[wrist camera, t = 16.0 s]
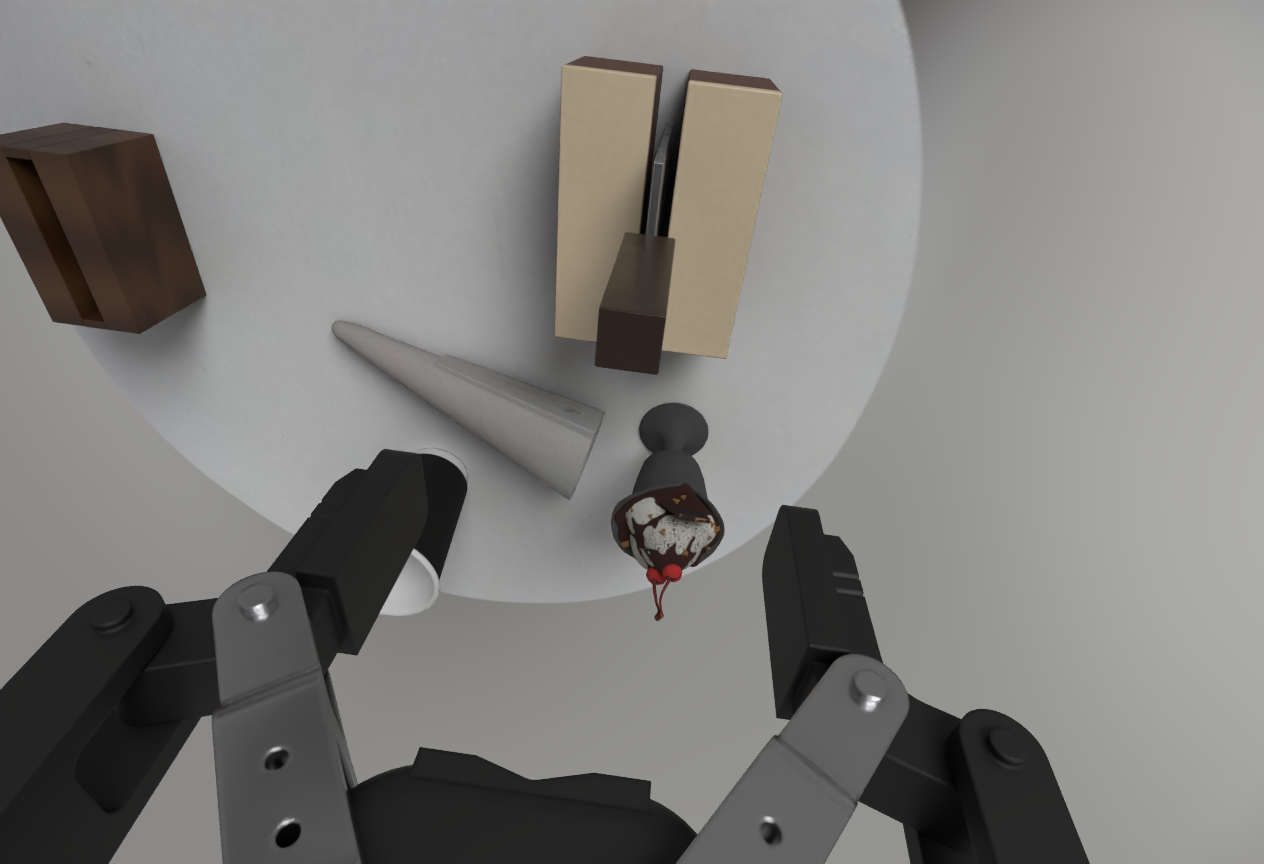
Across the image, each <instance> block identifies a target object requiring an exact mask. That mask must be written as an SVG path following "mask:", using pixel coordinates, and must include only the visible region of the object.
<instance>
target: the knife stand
mask: <svg viewBox="0 0 1264 864" xmlns="http://www.w3.org/2000/svg"><path fill="white" fill-rule="evenodd" d="M0 217H1V219H2V221H3V223H4V225H5V227H6V229H7V231H8V233H9V235H10V237H11V239H12V241H13V243H14V245H15V247H16V249H17V251H18V253H19V255H20V257H21V259H22V261H23V263H24V265H25V267H26V269H27V271H28V273H29V275H30V277H31V279H32V281H33V283H34V285H35V287H36V289H37V291H38V293H39V295H40V297H41V299H42V301H43V303H44V305H45V307H46V309H47V311H48V313H49V315H50V317H51V319H52V321H53V322H57V323H65V324H72V325H79V326H86V327H93V328H100V329H108V330H115V331H122V332H130V333H137V334H141V333H142V332H144V331H146V330H147V329H149V328H151V327H152V326H154V325H156V324H158V323H159V322H161V321H163V320H164V319H166V318H168V317H169V316H171V315H173V314H175V313H176V312H178V311H180V310H181V309H183V308H185V307H187V306H188V305H190V304H192V303H193V302H195V301H197V300H198V299H200V298H202V297H204V296H205V295H206V292H205V289H204V286H203V283H202V280H201V277H200V274H199V271H198V268H197V265H196V262H195V259H194V256H193V253H192V250H191V247H190V244H189V241H188V238H187V235H186V232H185V229H184V226H183V223H182V220H181V217H180V214H179V211H178V208H177V205H176V202H175V199H174V196H173V193H172V190H171V187H170V184H169V181H168V178H167V175H166V172H165V169H164V166H163V163H162V160H161V157H160V154H159V151H158V148H157V145H156V142H155V139H154V136H153V134H148V133H140V132H132V131H125V130H117V129H109V128H101V127H92V126H85V125H77V124H69V123H60V124H55V125H49V126H44V127H39V128H33V129H28V130H23V131H17V132H12V133H6V134H1V135H0Z"/></svg>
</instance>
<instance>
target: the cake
mask: <svg viewBox="0 0 1264 864" xmlns="http://www.w3.org/2000/svg"><path fill="white" fill-rule="evenodd" d="M662 72H663V66H661V65H653V64H644V63H636V62H628V61H620V60H612V59H604V58H596V57H588V56H584V57H582V58H579V59H577V60H575V61H573V62H570V63H568V64H566V65H564V66H562V76H561V115H560V153H559V191H558V229H557V268H556V306H555V336H556V337H563V338H571V339H578V340H586V341H593V342H596V341H597V327H598V312H599V307H600V304H601V301H602V298H603V295H604V292H605V289H606V286H607V283H608V281H609V278H610V275H611V272H612V269H613V266H614V263H615V260H616V257H617V254H618V252H619V249H620V246H621V243H622V240H623V237H624V234H625V232H629V233H637V234H644V235H645V227H646V217H647V208H648V199H649V190H650V181H651V172H652V163H653V154H654V145H655V136H656V127H657V118H658V109H659V100H660V90H661V81H662ZM782 96H783V95H782V93H781V91H780V90H779V89H778V88H777V87H776V86H775V84H774V83H773V82H772V81H771V80H770V79H766V78H758V77H749V76H741V75H733V74H725V73H717V72H709V71H701V70H693V69H692V70H690V75H689V80H688V87H687V94H686V102H685V109H684V117H683V124H682V132H681V140H680V147H679V155H678V162H677V170H676V177H675V185H674V192H673V200H672V207H671V215H670V222H669V230H668V238H674V239H675V240H676V241H675V250H674V258H673V266H672V275H671V283H670V291H669V300H668V308H667V316H666V324H665V331H664V338H663V345H662V350H663V351H670V352H678V353H685V354H693V355H700V356H708V357H715V358H723V359H726V357H727V352H728V348H729V343H730V338H731V334H732V329H733V324H734V320H735V315H736V310H737V306H738V301H739V296H740V292H741V287H742V282H743V278H744V273H745V268H746V264H747V259H748V254H749V250H750V245H751V240H752V236H753V231H754V226H755V222H756V217H757V212H758V208H759V203H760V198H761V194H762V189H763V184H764V180H765V175H766V170H767V166H768V161H769V156H770V152H771V147H772V142H773V138H774V133H775V128H776V124H777V119H778V114H779V110H780V105H781V100H782Z"/></svg>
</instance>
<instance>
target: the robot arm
mask: <svg viewBox="0 0 1264 864" xmlns="http://www.w3.org/2000/svg"><path fill="white" fill-rule="evenodd" d="M427 513H428V501H427V494H426V487H425V479H424V472H423V464H422V459H421V456H420V455H419V454H418V453H411V452H403V451H396V450H389V449H384V450H382V451H381V452H380V453H379V454H378V455H377V457H376V458H375V460H374V461H373V462H372V464H371V465H370V467H369V468H368V469H367V470H364V469H357V468H356V469H354V470H353V471H351V472H350V473H348V474H347V475H345V476H344V477H342V478H341V479H339V480H338V481H336V482H335V483H334V484H333V486H332V487H331V488H330V490H329V491H328V492H327V494H326V495H325V496H324V498H323V499H322V502H321V503H319V504H318V505H317V507H316V508H315V509H314V511H313V512H312V513H311V517H310V518H307V520H306V521H305V522H304V524H303V525H302V526H301V528H300V529H299V530H298V531H297V533H296V534H295V535H294V537H293V538H292V539H291V541H290V542H289V543H288V545H287V546H286V547H285V549H284V550H283V551H282V552H281V554H280V555H279V556H278V558H277V559H276V560H275V562H274V563H273V564H272V565H271V567H270V568H269V569H268V570H267V572H263V573H258V574H254V575H251V576H249V577H246V578H244V579H241V580H239V581H238V582H236V583H234V584H233V585H231V586H230V587H229V588H228V589H226V590H225V591H224V592H223V593H222V594H221V595H220V597H219V598H214V599H207V600H199V601H191V602H183V603H175V604H167V605H166V604H165V602H164V600H163V599H162V597H161V595H160V594H159V593H158V592H157V591H156V590H154V589H152V588H149V587H144V586H129V587H123V588H118V589H114V590H111V591H108V592H106V593H103V594H101V595H99V596H97V597H95V598H93V599H92V600H90V601H88V602H86V603H85V604H84V605H82V606H81V607H80V608H78V609H77V610H76V611H75V612H74V613H73V614H72V615H71V616H70V617H69V618H68V619H67V620H66V621H65V622H64V623H63V624H62V626H60V627H59V629H58V630H57V631H56V632H55V633H54V634H53V635H52V636H51V637H50V638H49V639H48V640H47V641H46V642H45V643H44V644H43V645H42V646H41V648H40V649H39V650H38V651H37V652H36V653H35V654H34V655H33V656H32V657H31V658H30V659H29V660H28V661H27V662H26V663H25V664H24V665H23V667H22V668H21V669H20V670H19V671H18V672H17V673H16V674H15V675H14V676H13V677H12V678H11V679H10V680H9V681H8V682H7V683H6V684H5V685H4V687H3V688H2V689H1V690H0V864H109V862H110V860H111V859H112V857H113V856H114V854H115V852H116V851H117V849H118V848H119V846H120V845H121V843H122V841H123V840H124V838H125V837H126V835H127V833H128V832H129V830H130V829H131V827H132V826H133V824H134V822H135V821H136V819H137V818H138V816H139V815H140V813H141V811H142V810H143V808H144V807H145V805H146V804H147V802H148V800H149V799H150V797H151V795H152V794H153V792H154V791H155V789H156V788H157V786H158V785H159V783H160V781H161V780H162V778H163V777H164V775H165V774H166V772H167V770H168V769H169V767H170V766H171V764H172V762H173V761H174V759H175V758H176V756H177V755H178V753H179V751H180V750H181V748H182V747H183V745H184V743H185V742H186V740H187V739H188V737H189V736H190V734H191V732H192V731H193V729H194V728H195V726H196V725H197V723H198V721H199V720H200V718H201V717H203V716H209V715H212V733H213V746H214V758H215V771H216V783H217V795H218V808H219V821H220V835H221V847H222V860H223V864H824V863H825V862H826V860H827V858H828V856H829V854H830V853H831V851H832V849H833V847H834V846H835V844H836V842H837V841H838V839H839V837H840V835H841V833H842V832H843V830H844V828H845V827H846V825H847V823H848V821H849V819H850V818H851V816H852V814H853V812H854V810H855V808H856V806H857V804H858V803H857V802H858V801H859V802H861V803H863V804H865V805H867V806H869V807H871V808H873V809H875V810H877V811H879V812H881V813H883V814H885V815H887V816H889V817H891V818H893V819H895V820H897V821H899V822H901V823H903V826H904V832H905V838H906V842H907V848H908V853H909V858H910V864H1090V863H1089V861H1088V858H1087V856H1086V853H1085V851H1084V849H1083V846H1082V843H1081V841H1080V838H1079V836H1078V833H1077V831H1076V828H1075V826H1074V823H1073V821H1072V818H1071V816H1070V813H1069V811H1068V808H1067V806H1066V803H1065V801H1064V798H1063V796H1062V793H1061V791H1060V788H1059V786H1058V783H1057V781H1056V778H1055V776H1054V773H1053V770H1052V768H1051V766H1050V763H1049V760H1048V758H1047V756H1046V754H1045V752H1044V750H1043V748H1042V747H1041V745H1040V744H1039V742H1038V741H1037V740H1036V739H1035V737H1034V736H1033V735H1032V734H1031V733H1030V732H1029V731H1028V730H1027V729H1026V728H1024V727H1023V726H1022V725H1021V724H1020V723H1018V722H1017V721H1015V720H1014V719H1012V718H1010V717H1008V716H1007V715H1005V714H1002V713H1000V712H997V711H993V710H988V709H976V710H972V711H970V712H968V713H967V714H966V715H965V716H964V717H963V718H962V719H959V718H957V717H955V716H953V715H950V714H948V713H946V712H944V711H941V710H939V709H937V708H934V707H932V706H930V705H927V704H925V703H923V702H921V701H919V700H917V699H916V698H914V697H913V696H911V695H910V694H908V693H907V691H906V689H905V687H904V685H903V683H902V682H901V680H900V679H899V678H898V676H897V675H896V674H895V673H894V672H893V671H892V670H891V669H890V668H888V667H887V666H886V665H884V664H883V661H882V658H881V655H880V651H879V648H878V644H877V640H876V637H875V633H874V629H873V626H872V622H871V618H870V615H869V611H868V607H867V604H866V600H865V597H863V589H862V585H861V582H860V580H859V575H858V571H857V567H856V563H855V560H854V556H853V554H852V553H851V552H850V551H849V549H848V548H847V546H846V545H845V544H844V543H843V541H842V540H841V539H840V537H839V536H832V535H825V534H824V533H823V529H822V525H821V521H820V516H819V513H818V511H817V510H816V509H809V508H802V507H795V506H788V505H782V506H781V507H780V509H779V512H778V514H777V517H776V521H775V524H774V527H773V530H772V533H771V536H770V539H769V542H768V545H767V548H766V551H765V555H764V560H763V568H762V582H763V592H764V601H765V610H766V611H765V612H766V621H767V630H768V641H769V650H770V660H771V670H772V679H773V689H774V699H775V708H776V717H777V718H780V719H788V720H790V721H789V722H788V724H787V725H786V726H785V728H784V729H783V730H782V731H781V733H780V734H779V735H778V736H777V735H775V736H773V737H772V738H771V739H770V740H769V742H768V743H767V744H766V746H765V747H764V748H763V749H762V751H761V752H760V753H759V755H758V756H757V757H756V759H755V760H754V761H753V762H752V764H751V765H750V766H749V768H748V769H747V770H746V772H745V773H744V774H743V776H742V777H741V778H740V780H739V781H738V782H737V783H736V785H735V786H734V787H733V789H732V790H731V791H730V793H729V794H728V795H727V797H726V798H725V799H724V801H723V802H722V803H721V805H720V806H719V807H718V809H717V810H716V811H715V813H714V814H713V815H712V816H711V818H710V819H709V820H708V822H707V823H706V824H705V826H704V827H703V828H702V830H701V831H700V832H699V834H698V835H697V833H696V832H695V831H694V830H693V829H692V828H691V827H690V826H689V825H688V824H687V823H686V822H685V821H684V820H683V819H681V818H680V817H679V816H678V815H676V814H675V813H674V812H673V811H671V810H670V809H668V808H666V807H665V806H663V805H662V804H660V803H658V802H656V801H654V800H651V799H650V790H651V781H646V780H640V779H633V778H626V777H619V776H612V775H606V774H599V773H589V774H581V775H572V776H564V777H557V778H549V779H541V780H529V779H527V778H524V777H522V776H520V775H518V774H516V773H514V772H511V771H509V770H507V769H505V768H503V767H500V766H498V765H496V764H494V763H492V762H490V761H487V760H485V759H483V758H481V757H479V756H476V755H470V754H463V753H457V752H449V751H443V750H436V749H429V748H423V747H420V748H419V751H418V753H417V756H416V759H415V761H414V764H413V765H409V766H404V767H400V768H396V769H392V770H389V771H386V772H384V773H381V774H378V775H376V776H374V777H372V778H370V779H368V780H366V781H364V782H362V783H360V784H358V782H357V779H356V775H355V772H354V768H353V765H352V762H351V758H350V754H349V751H348V747H347V742H346V739H345V735H344V730H343V726H342V722H341V718H340V714H339V710H338V706H337V701H336V697H335V693H334V690H333V686H332V681H331V677H330V673H329V670H328V668H329V667H330V665H331V663H332V661H333V659H334V658H335V656H336V654H337V653H344V654H351V655H358V653H359V651H360V649H361V647H362V645H363V643H364V641H365V640H366V638H367V636H368V634H369V632H370V630H371V628H372V626H373V624H374V622H375V621H376V619H377V617H378V615H379V613H380V611H381V609H382V607H383V606H384V604H385V602H386V600H387V598H388V596H389V594H390V592H391V590H392V589H393V587H394V585H395V583H396V581H397V579H398V577H399V575H400V573H401V572H402V570H403V568H404V566H405V564H406V562H407V560H408V558H409V556H410V555H411V553H412V551H413V549H414V547H415V545H416V543H417V541H418V539H419V538H420V536H421V534H422V532H423V529H424V527H425V524H426V520H427Z"/></svg>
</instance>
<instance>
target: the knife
mask: <svg viewBox="0 0 1264 864" xmlns="http://www.w3.org/2000/svg"><path fill="white" fill-rule="evenodd" d="M673 126H674V124H673V123H668V122H667V123H666V126H665V129H664V132H663V135H662V138H661V142H660V145H659V148H658V151H657V154H656V157H655V161H654V165H653V174H652V183H651V192H650V201H649V210H648V219H647V228H646V235H644V234H637V233H629V232H625V234H624V237H623V240H622V243H621V246H620V249H619V252H618V254H617V257H616V260H615V263H614V266H613V269H612V272H611V275H610V278H609V281H608V283H607V286H606V289H605V292H604V295H603V298H602V301H601V304H600V307H599V312H598V327H597V341H596V355H595V366H596V367H603V368H611V369H618V370H626V371H633V372H641V373H648V374H656V375H657V374H658V373H659V366H660V359H661V352H662V345H663V338H664V331H665V324H666V316H667V308H668V300H669V291H670V283H671V275H672V266H673V258H674V250H675V241H676V240H675V239H674V238H668V237H660V230H661V222H662V214H663V206H664V198H665V190H666V182H667V174H668V166H669V158H670V150H671V142H672V134H673Z"/></svg>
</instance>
